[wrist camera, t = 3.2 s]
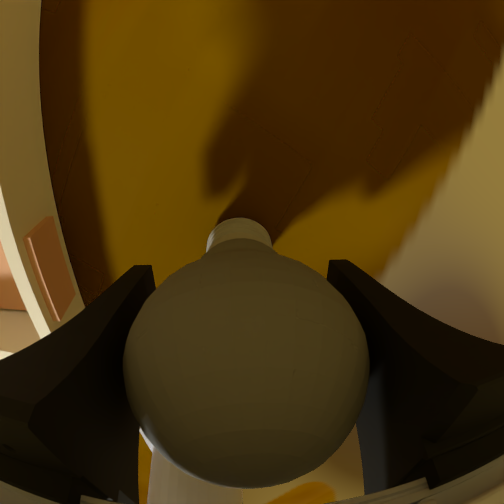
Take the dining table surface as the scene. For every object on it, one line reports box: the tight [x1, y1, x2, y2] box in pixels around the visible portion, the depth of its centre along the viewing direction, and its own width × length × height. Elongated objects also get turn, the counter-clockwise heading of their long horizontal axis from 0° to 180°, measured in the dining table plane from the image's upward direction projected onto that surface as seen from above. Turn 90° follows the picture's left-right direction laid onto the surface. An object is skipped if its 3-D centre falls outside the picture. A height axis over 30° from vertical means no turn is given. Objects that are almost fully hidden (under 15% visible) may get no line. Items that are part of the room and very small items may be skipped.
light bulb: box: [123, 218, 370, 489], centre depth 9 cm, size 6×6×10 cm
